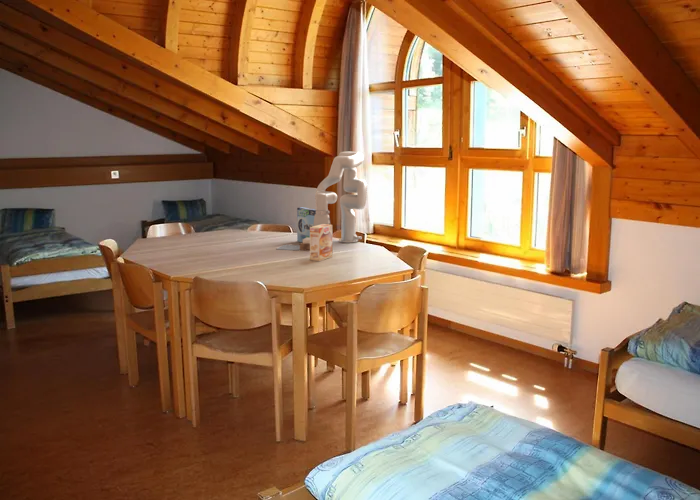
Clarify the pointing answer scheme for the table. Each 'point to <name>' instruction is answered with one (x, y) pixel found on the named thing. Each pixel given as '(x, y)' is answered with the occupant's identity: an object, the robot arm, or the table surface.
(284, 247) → the slate mat
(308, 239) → the cream coaster
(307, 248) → the board
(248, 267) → the table surface
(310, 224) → the gum box
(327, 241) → the coffeecake box
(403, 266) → the table surface
